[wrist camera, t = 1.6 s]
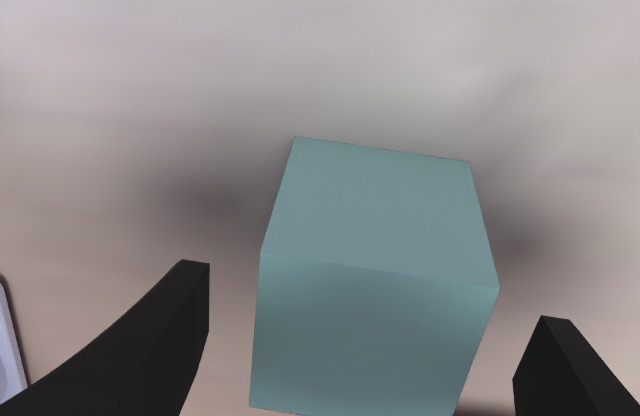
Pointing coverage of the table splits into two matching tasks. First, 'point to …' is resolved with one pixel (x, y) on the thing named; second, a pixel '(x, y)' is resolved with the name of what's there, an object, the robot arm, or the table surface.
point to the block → (370, 284)
